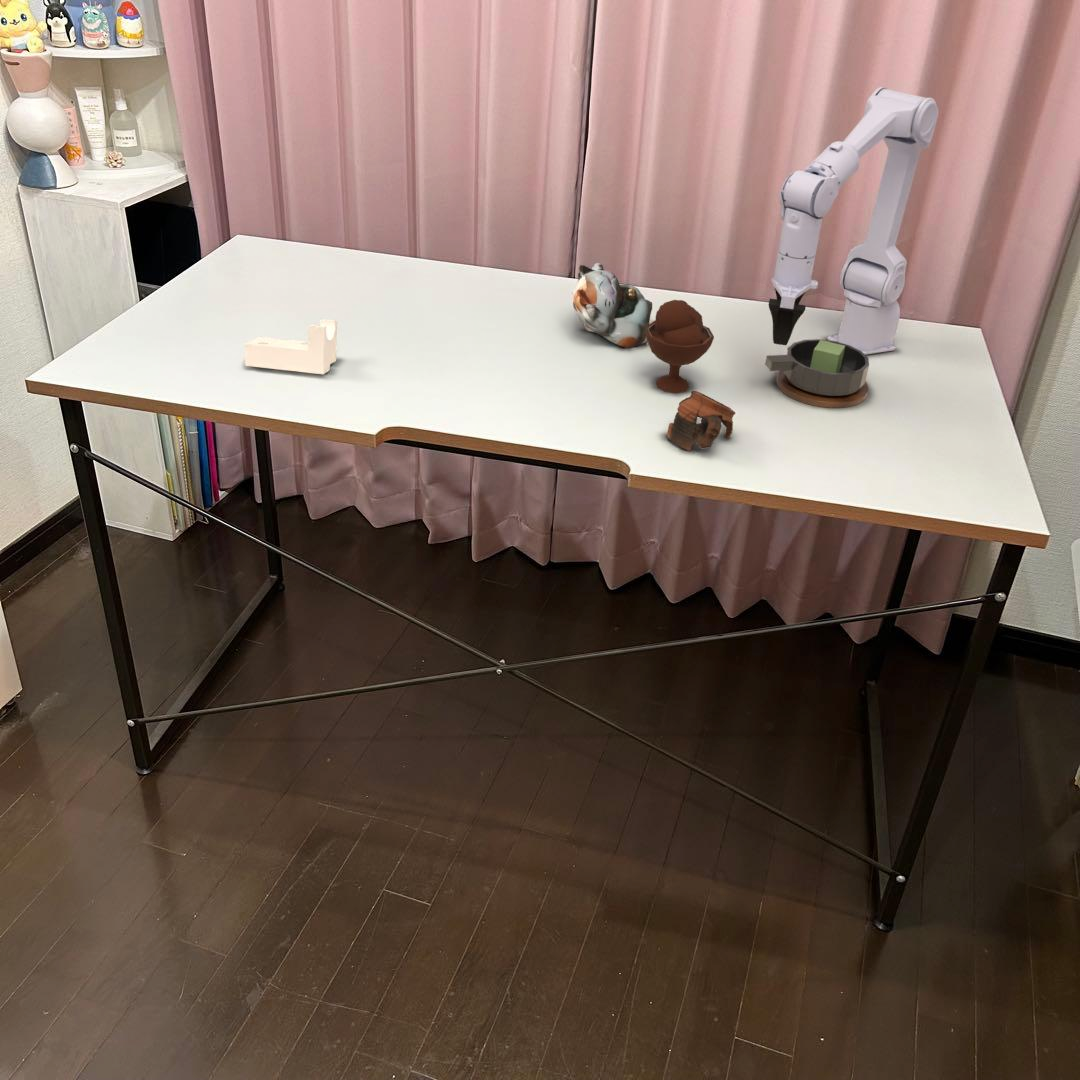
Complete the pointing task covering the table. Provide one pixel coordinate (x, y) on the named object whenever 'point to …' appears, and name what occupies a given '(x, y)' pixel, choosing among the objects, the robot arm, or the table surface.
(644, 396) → the table surface
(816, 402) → the lazy susan
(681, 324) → the ice cream bowl
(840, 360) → the block
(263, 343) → the bracket
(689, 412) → the pottery mug
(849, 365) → the grey frying pan
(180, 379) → the table surface
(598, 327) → the lucky cat figurine
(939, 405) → the table surface
